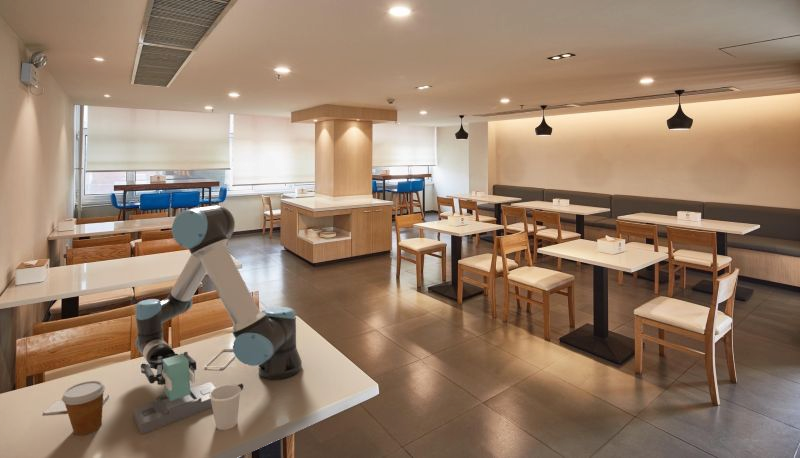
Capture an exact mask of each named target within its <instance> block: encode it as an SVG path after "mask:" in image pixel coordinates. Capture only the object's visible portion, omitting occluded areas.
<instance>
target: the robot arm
mask: <svg viewBox="0 0 800 458" xmlns="http://www.w3.org/2000/svg"><path fill="white" fill-rule="evenodd" d="M235 224H236V223H235V218H234V215H233V213H231V211H230V210H229V209H228V208H226V207H224V206H221V205H209V206H203V207H202V206H201V207H192V208H190V209H186V210H183V211H181V212H179V213H178V214H177V215H176V216H175V218H174V219H173V223H172V225H171V226H172V227H171V234H172V237H173V239H174V241H175V242H176V244H177V245H178V246H180V247H182V248H184V249H188V251H189V253H190V254H191V255H190V256H189V258H188V259H187V262H186V264H185V266H184V267H183V269H182V271H181V272H180V274H179V276H178V278H177V280H176V281H175V283H174V285H173V287H172V289H171V290H170V292H169V294H168V295H167V296H166V298H164V299H162V300H160V299H158V298H157V299H156V298H148V299H144V300H141V301H139V302H137V303H136V305H135V323H136V330H137V331H136V332H137V335H136V336H137V337H136V338H135V347H136V350H137V351H138V352H139V353H140V354H141V355H142V356H143V358H144V359H145V361H146V362H147V363H141V364H140V371H141V372H140V373H141V374H144V375H145V377H146V379H147V380H148V382H149V384H154V383H155V382H157V385H160V386H164V385H165V386H166V387H167V389H168V390H169V391H170V390H172V381H171V380H170V379H169V377H168V376H167V375H166V374H165V373H163V361H162V359H165V358H169V357H173V356H176V355H179V354H178V353H175V351H174V349H173V348H172V347H171V346H170V345H169V344H168V343H167V342H166V341H165V339H164V329H163V323H166V322H167V321H169V320H171V319H174V318H176V317H178V316H179V315H182V314H184V313H186V312H187V311H188V310H190V309H191V308H192V307H193V303H194V302H193V301H194V299H193V297H194V295H195V293H196V291H197V290H198V288H199V286H200V285H201V283H202V281H203V279H204V278H205V276H206V274H207V276H208V277H209V280H210V281H211V283H212V285H213V287H214V289H215V291H216V293H217V294H218V297H219V299H220V300H221V303H222V305H223V306H224V308H225V310H226V312H227V314H228V316H229V318H230V319H231V320H230V321H232V323H233V327H232V329H231V333H232V335H233V337H234V341H233V345H232V349H233V351H232V352H233V354H234V355H235V358H236V359H237V360H238V361H240V362H241V363H242V364H244V365H248V366H252V367H256V366H258V374H259V376H260V377H262V378H264V379H267V380H283V379H284V380H285V379H288V378H290V377H293V376H296V375H297V374H299V373H300V372H301V370H302V368H303V363H302V359H301V356H300V353H299V350H298V348H297V317H296V312H295V310H294V308H291V307H286V306H272V307H271V306H270V307H267V308H264V309H262V311H260V310H259V308H258V306H257V304H256V302H255V300H254V298H253V296H252V294H251V292H250V290H249V288H248V286H247V285H246V282H245V281H244V278H243V277H242V275H241V273H240V271H239V268H238V267H237V265H236V263H235V261H234V259H233V258H232V255H231V253H230V252H229V250H228V248H227V245H228V243H229V241H230V239H231V237H232V236H233V233H234V231H235V228H236V227H235V226H236V225H235ZM188 352H189V351H184V352H183V353H182V354H183V355H184V356H185V357H186V358H187V359H188V360H189V378H190V383H191V384H194V383H196V373H195V372H196V370H197V361H196V360H194V359H193V358H192V357H191V356H190V355H189V354H188ZM152 369H154V370H156V374H155V373H154V372H153V370H152Z"/></svg>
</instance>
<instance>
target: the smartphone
mask: <svg viewBox="0 0 800 458" xmlns="http://www.w3.org/2000/svg"><path fill="white" fill-rule="evenodd" d="M109 398H110V395H109V394H103V405H104V404H105V403H106V402H107V401H108V399H109ZM66 413H67V414H68V412H67V409H66V405H65V403H64V402H63V401H62V399H58V400H56V401H54V402H52V404H51V405H49V407H48V408H47V409H45V410H44V411H43V415H44V416H46V415H47V416H48V415H56V414H66Z"/></svg>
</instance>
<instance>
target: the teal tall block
mask: <svg viewBox="0 0 800 458" xmlns="http://www.w3.org/2000/svg"><path fill="white" fill-rule="evenodd" d="M183 354H184V353H181V354H178V355H176V356H173V357H169V358H165V359H162V361H163V373H165V374H166V375H167V376H168V377H169V379H170V380H171V381H172V390H170V391H169V390H168V389H167V387H166V386H165V385H163V387H164V395H166V396H167V397H168V399H169V400H170V401H173V400H175V399H178V398H181V397H184V396H187V395H190V387H191V381H190V378H189V360H188V359H187V358H186V357H185V356H184V355H183Z"/></svg>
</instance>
